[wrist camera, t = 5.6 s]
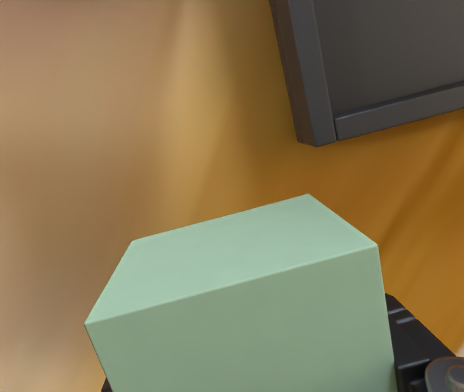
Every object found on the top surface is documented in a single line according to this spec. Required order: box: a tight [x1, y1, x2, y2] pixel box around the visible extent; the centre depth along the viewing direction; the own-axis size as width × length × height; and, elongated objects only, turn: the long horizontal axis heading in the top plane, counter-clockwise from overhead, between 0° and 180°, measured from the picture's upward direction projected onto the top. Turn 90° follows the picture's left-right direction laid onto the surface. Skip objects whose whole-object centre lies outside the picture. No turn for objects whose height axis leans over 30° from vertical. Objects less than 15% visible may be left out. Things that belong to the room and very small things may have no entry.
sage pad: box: [84, 194, 398, 392], centre depth 9 cm, size 6×8×4 cm
